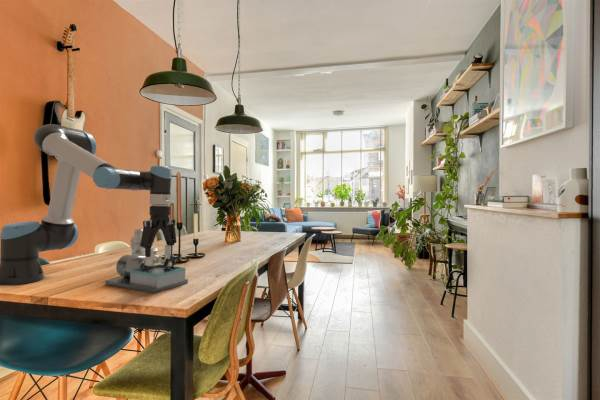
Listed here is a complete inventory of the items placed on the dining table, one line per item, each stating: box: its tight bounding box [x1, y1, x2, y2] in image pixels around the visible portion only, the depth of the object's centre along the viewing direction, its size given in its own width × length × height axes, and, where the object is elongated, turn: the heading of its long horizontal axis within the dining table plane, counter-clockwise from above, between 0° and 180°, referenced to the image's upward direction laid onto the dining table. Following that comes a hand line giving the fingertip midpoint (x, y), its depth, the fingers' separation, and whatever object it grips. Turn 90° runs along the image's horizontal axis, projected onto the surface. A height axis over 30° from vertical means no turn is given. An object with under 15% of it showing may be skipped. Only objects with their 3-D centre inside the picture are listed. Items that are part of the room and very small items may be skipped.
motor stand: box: [105, 254, 189, 294], centre depth 128 cm, size 26×17×10 cm, turn 66°
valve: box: [144, 247, 178, 272], centre depth 126 cm, size 7×7×12 cm
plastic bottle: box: [130, 228, 145, 257], centre depth 146 cm, size 6×7×20 cm
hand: (158, 263), depth 126 cm, fingers open, 8 cm apart
